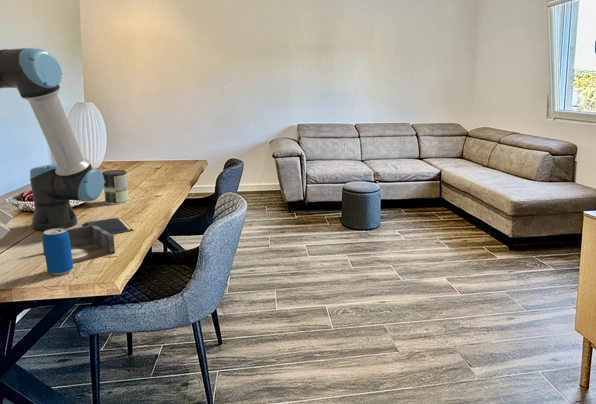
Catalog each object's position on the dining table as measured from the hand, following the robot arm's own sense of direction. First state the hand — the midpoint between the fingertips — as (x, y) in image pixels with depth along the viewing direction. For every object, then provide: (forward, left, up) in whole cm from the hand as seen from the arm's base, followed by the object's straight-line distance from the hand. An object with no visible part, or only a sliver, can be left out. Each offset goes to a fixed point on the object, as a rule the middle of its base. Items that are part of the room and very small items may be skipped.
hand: (7, 227), depth 117 cm
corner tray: (-9, +19, -15) cm, 26 cm away
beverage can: (+3, +10, -15) cm, 18 cm away
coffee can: (-67, +55, -15) cm, 88 cm away
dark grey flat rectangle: (-30, +36, -16) cm, 50 cm away
